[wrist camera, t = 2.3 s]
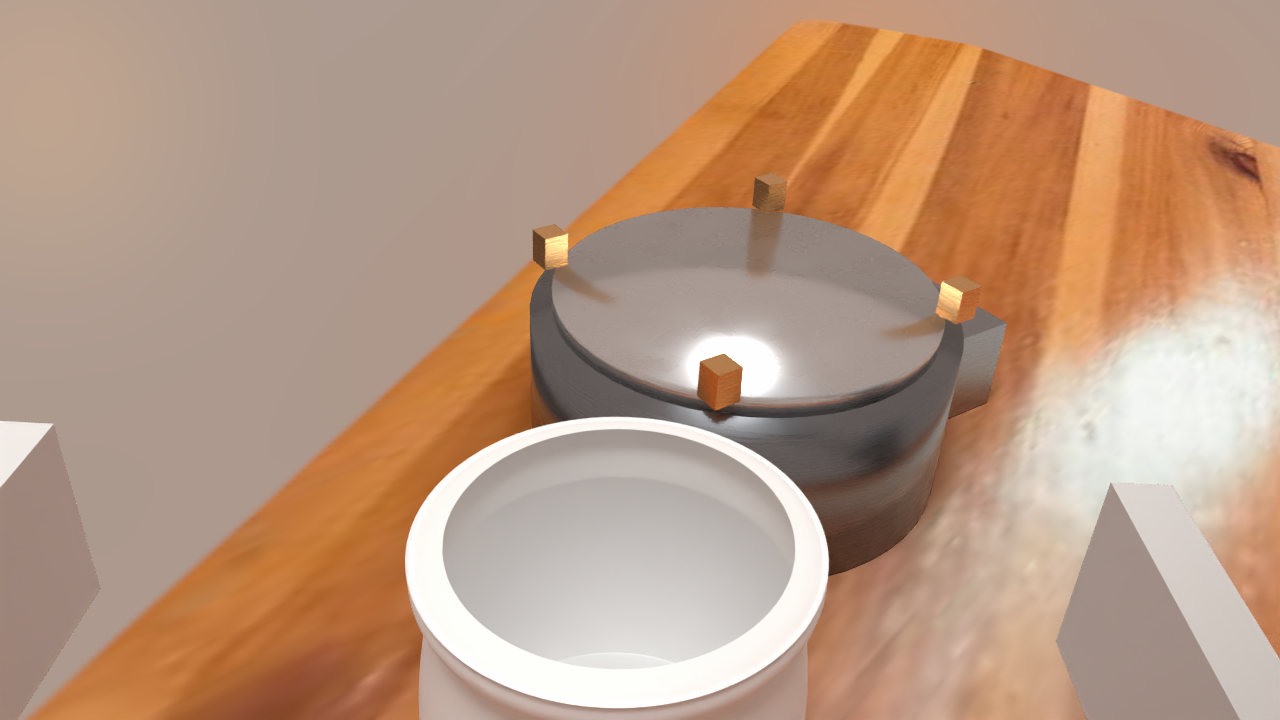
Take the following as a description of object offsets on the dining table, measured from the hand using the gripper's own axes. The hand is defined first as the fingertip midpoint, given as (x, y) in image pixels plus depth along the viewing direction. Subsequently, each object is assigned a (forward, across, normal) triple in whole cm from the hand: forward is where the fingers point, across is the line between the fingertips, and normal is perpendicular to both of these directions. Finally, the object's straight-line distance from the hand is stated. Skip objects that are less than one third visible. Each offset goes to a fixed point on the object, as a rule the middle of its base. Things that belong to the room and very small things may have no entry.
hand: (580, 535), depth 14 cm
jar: (+10, 0, -24) cm, 26 cm away
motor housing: (+36, +7, -23) cm, 43 cm away
